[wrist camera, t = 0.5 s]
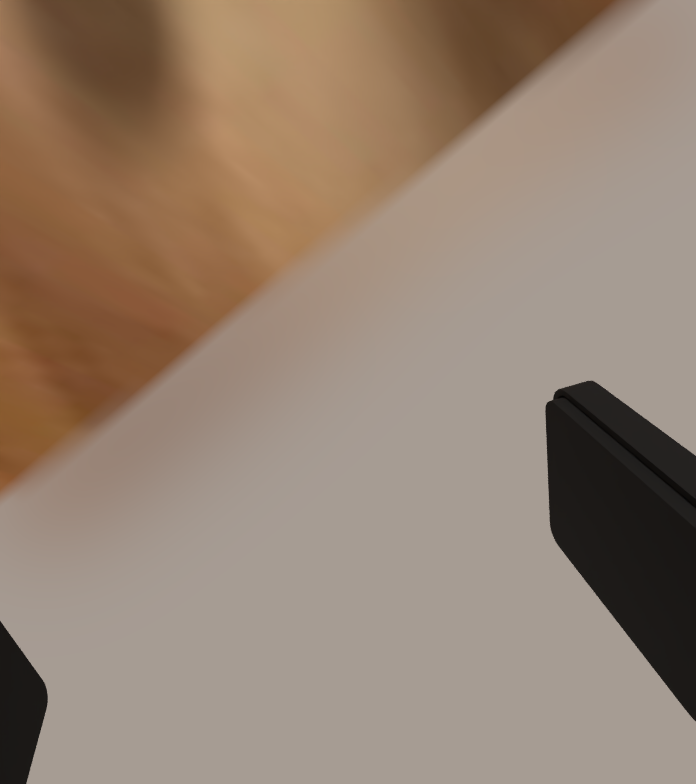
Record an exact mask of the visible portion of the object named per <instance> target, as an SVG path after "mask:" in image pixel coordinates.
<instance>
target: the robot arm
mask: <svg viewBox="0 0 696 784" xmlns="http://www.w3.org/2000/svg"><path fill="white" fill-rule="evenodd" d="M546 434H547V460H548V484H549V510H550V527H551V531H552V534H553V537H554V539H555V541H556V543H557V544H558V546H559V547H560V548H561V550H562V551H563V552H564V554H565V555H566V556H567V557H568V559H569V560H570V561H571V563H572V564H573V565H574V567H575V568H576V569H577V570H578V572H579V573H580V574H581V575H582V577H583V578H584V579H585V581H586V582H587V583H588V585H589V586H590V587H591V588H592V590H593V591H594V592H595V593H596V595H597V596H598V597H599V599H600V600H601V601H602V603H603V604H604V605H605V606H606V608H607V609H608V610H609V612H610V613H611V614H612V615H613V617H614V618H615V619H616V621H617V622H618V623H619V624H620V626H621V627H622V628H623V630H624V631H625V632H626V634H627V635H628V636H629V637H630V639H631V640H632V641H633V642H634V644H635V645H636V646H637V648H638V649H639V650H640V652H641V653H642V654H643V655H644V657H645V658H646V659H647V660H648V662H649V663H650V664H651V666H652V667H653V668H654V670H655V671H656V672H657V673H658V675H659V676H660V677H661V679H662V680H663V681H664V682H665V684H666V685H667V686H668V688H669V689H670V690H671V691H672V693H673V694H674V695H675V697H676V698H677V699H678V701H679V702H680V703H681V704H682V706H683V707H684V708H685V710H686V711H687V712H688V713H689V714H690V716H691V717H692V718H693V719H694V720H695V721H696V456H695V455H694V454H692V453H691V452H690V451H688V450H687V449H686V448H684V447H683V446H681V445H680V444H679V443H677V442H676V441H675V440H673V439H672V438H671V437H669V436H668V435H667V434H665V433H664V432H662V431H661V430H660V429H658V428H657V427H656V426H654V425H653V424H651V423H650V422H649V421H648V420H646V419H645V418H643V417H642V416H641V415H639V414H638V413H637V412H635V411H634V410H633V409H631V408H630V407H629V406H627V405H626V404H625V403H623V402H622V401H620V400H619V399H618V398H616V397H615V396H614V395H612V394H611V393H609V392H608V391H607V390H606V389H604V388H603V387H601V386H600V385H599V384H597V383H595V382H594V381H586V382H583V383H579V384H576V385H572V386H569V387H565V388H562V389H558V390H557V391H556V392H555V394H554V398H553V400H552V401H549V402H548V403H547V405H546ZM47 700H48V696H47V689H46V686H45V684H44V682H43V680H42V679H41V677H40V676H39V674H38V673H37V672H36V670H35V669H34V667H33V666H32V665H31V663H30V662H29V661H28V659H27V658H26V656H25V655H24V654H23V652H22V651H21V649H20V648H19V647H18V645H17V644H16V642H15V641H14V640H13V638H12V637H11V636H10V634H9V633H8V631H7V630H6V628H5V627H4V626H3V624H2V623H1V621H0V784H26V782H27V778H28V775H29V771H30V767H31V764H32V760H33V756H34V752H35V749H36V745H37V742H38V738H39V734H40V730H41V727H42V723H43V719H44V716H45V712H46V708H47V702H48V701H47Z"/></svg>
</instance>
